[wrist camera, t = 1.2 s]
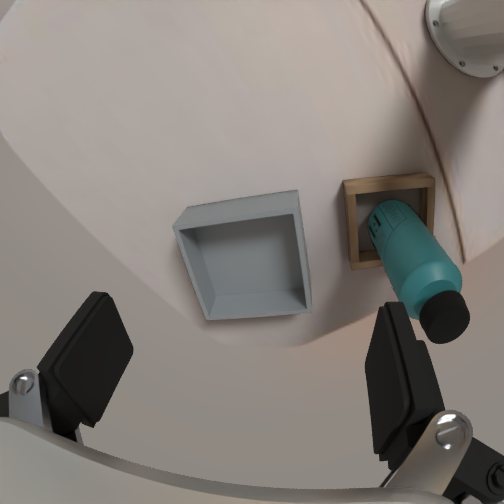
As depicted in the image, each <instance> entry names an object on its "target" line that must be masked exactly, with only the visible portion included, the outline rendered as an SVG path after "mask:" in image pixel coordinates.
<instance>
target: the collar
mask: <svg viewBox="0 0 504 504" xmlns="http://www.w3.org/2000/svg"><path fill="white" fill-rule="evenodd" d="M343 187H344V197H345V208H346V220H347V234H348V250H349V262H350V266H351V269H352V270H356V269H364V268H372V267H380V266H384V265H383V263H382V261H381V259H379V258H380V256H379V255H378V252H377V251H375V250H374V251H366V252H359V244H358V224H357V208H356V195H355V194H361V193H370V192H380V191H390V190H401V189H412V188H421V198H420V218H421V219H422V222H423V223H424V222H425V224H424V225H425V226H426V227H427V228H428V227H429V228H428V229H429V231H430V232H431V234H433V226H434V206H435V178H434V177H432V176H431V175H430V174H429V173H415V174H402V175H390V176H379V177H369V178H359V179H350V180H343ZM421 219H420V220H421Z"/></svg>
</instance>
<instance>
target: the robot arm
mask: <svg viewBox="0 0 504 504" xmlns="http://www.w3.org/2000/svg"><path fill="white" fill-rule="evenodd" d="M426 22H427V27H428V30H429V32H430V35H431V37H432V39H433V41H434V43H435V45H436V47H437V48H438V50H439V51H440V53H441V54H442V55H443V56H444V57H445V58H446V60H447V61H448V62H449V63H451V64H452V65H453V66H454V67H455V68H457V69H458V70H460V71H461V72H463V73H465V74H468V75H470V76H474V77H482V78H486V77H492V76H494V75H497V74H498V73H499V72H501V71H502V70H503V68H504V0H427V4H426ZM432 23H433V24H434V25H433V24H432ZM459 62H460V64H459ZM132 355H133V345H132V343H131V341H130V339H129V336H128V334H127V332H126V330H125V327H124V325H123V322H122V320H121V318H120V315H119V313H118V310H117V308H116V306H115V303H114V301H113V298H112V297H110V296H109V294H108V293H106V292H96V291H94V292H92V293H91V294H90V296H89V297H88V298H87V299H86V300H85V302H84V303H83V304H82V305H81V307H80V308H79V309H78V311H77V312H76V313H75V315H74V316H73V317H72V319H71V320H70V321H69V322H68V324H67V325H66V327H65V328H64V329H63V330H62V332H61V333H60V335H59V336H58V337H57V339H56V340H55V341H54V343H53V344H52V346H51V347H50V349H49V350H48V351H47V353H46V354H45V356H44V357H43V358H42V360H41V361H40V363H39V365H38V366H37V368H38V370H39V371H40V372H39V374H37V373H36V372H35V371H34V370H32V369H25V370H22V371H20V372H18V373H17V374H16V375H15V376H14V377H13V378H12V380H11V382H10V386H9V391H7V392H5V393H3V394H0V504H504V456H503V455H502V454H500V453H498V452H497V451H495V450H493V449H492V448H490V447H488V446H487V445H485V444H483V443H482V442H480V441H479V440H477V439H475V438H474V437H472V436H473V427H472V425H471V422H470V420H469V419H468V418H467V416H465V415H464V414H462V413H461V412H459V411H456V410H445V407H444V403H443V399H442V396H441V392H440V388H439V385H438V381H437V378H436V375H435V372H434V368H433V365H432V362H431V359H430V356H429V353H428V350H427V347H426V344H425V342H424V341H422V340H416V337H415V334H414V331H413V328H412V325H411V322H410V319H409V316H408V313H407V311H406V308H405V305H404V303H403V302H386V303H385V305H384V306H382V307H379V310H378V314H377V319H376V323H375V327H374V331H373V335H372V338H371V342H370V346H369V350H368V353H367V357H366V361H365V373H366V380H367V388H368V397H369V405H370V414H371V425H372V436H373V448H374V453H375V454H379V460H380V461H388V468H389V469H390V470H391V471H390V472H389V474H388V475H387V476H386V477H385V479H384V480H383V481H382V482H381V484H380V485H379V486H378V487H377V488H349V489H289V488H271V487H258V486H248V485H239V484H231V483H224V482H217V481H211V480H205V479H200V478H194V477H189V476H184V475H180V474H175V473H171V472H167V471H162V470H158V469H155V468H151V467H147V466H144V465H140V464H137V463H133V462H130V461H127V460H124V459H120V458H117V457H114V456H111V455H108V454H106V453H103V452H100V451H97V450H95V449H92V448H89V447H87V446H84V445H83V441H82V437H81V433H80V429H79V424H80V422H81V423H82V424H84V425H87V426H89V427H92V428H94V426H95V424H96V422H98V421H100V419H101V417H102V415H103V413H104V411H105V409H106V407H107V405H108V403H109V400H110V398H111V397H112V395H113V392H114V390H115V388H116V386H117V384H118V382H119V380H120V378H121V376H122V374H123V373H124V371H125V369H126V367H127V365H128V363H129V361H130V359H131V357H132Z"/></svg>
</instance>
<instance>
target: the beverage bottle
mask: <svg viewBox="0 0 504 504" xmlns="http://www.w3.org/2000/svg"><path fill="white" fill-rule="evenodd" d="M418 216H419V215H417V214H416V212H414V211H413V208H412V209H411V208H410V207H409V206H408V205H407V204H406V203H404V202H402V201H398V200H388V201H384V202H382V203H380V204H379V205H377V206H376V207H375V208H374V209H373V211H372V212H371V214H370V216H369V220H368V223H367V224H368V230H367V231H369V233H368V234H369V235H370V236H371V238H372V241H371V242H372V244H373V246H374V245H375V247H376V249H377V250H375V251H377V252H378V255H379V256H380V258H379V259H381V261H382V263H383V265H384V268H385V270H386V272H387V275H388V277H389V279H390V282H391V284H392V286H393V288H394V292H395V293H396V295H397V298H398V300H399V302H403V303H404V305H405V308H406V311H407V313H408V316H409V317H411V318H413V319H417V320H419V321H420V324H421V326H422V328H423V330H424V331H425V333H426V335H427V337H428V339H429V340H430V341H431V342H433V343H436V344H444V343H448V342H451V341H453V340H454V339H456V338H458V337H459V336H460V335H461V334H462V333H463V332H464V331H465V329H466V328H467V326H468V324H469V321H470V313H469V311H468V308H467V306H466V304H465V300H464V299H463V297H462V295H461V294H460V291H461V288H462V276H461V273H460V271H459V269H458V268H457V266H456V265H455V264H454V263H453V262H452V260H451V259H450V258H449V256H448V255H447V254H446V252H445V251H444V250H443V248H442V247H441V246H440V244H439V243H438V242H437V240H436V239H435V238H434V237H433V234H431V232H430V231H429V229H428V228H429V227H428V228H427V227H426V226H425V225H424V224H425V222H424V223H423V222H422V219H421V218H419V217H418ZM420 219H421V220H420ZM371 238H370V239H371ZM387 275H386V276H387Z"/></svg>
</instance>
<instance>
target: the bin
mask: <svg viewBox="0 0 504 504" xmlns="http://www.w3.org/2000/svg"><path fill="white" fill-rule="evenodd" d="M172 227H173V230H174V233H175V236H176V239H177V242H178V244H179V247H180V250H181V253H182V256H183V259H184V262H185V265H186V267H187V270H188V273H189V276H190V278H191V281H192V284H193V287H194V289H195V292H196V295H197V297H198V300H199V303H200V305H201V308H202V311H203V313H204V316H205V318H206V320H221V319H238V318H252V317H266V316H278V315H290V314H301V313H311V312H312V295H311V282H310V274H309V266H308V258H307V251H306V243H305V236H304V229H303V222H302V215H301V209H300V202H299V196H298V190H293V191H286V192H278V193H271V194H265V195H258V196H251V197H245V198H238V199H232V200H226V201H220V202H214V203H208V204H202V205H197V206H191V207H187V208H186V209H185V211H184V212H183V213H182V214H181V216H180V217H179V218H178V219H177V221H176V222H175V223H174V224H173V226H172Z"/></svg>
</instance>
